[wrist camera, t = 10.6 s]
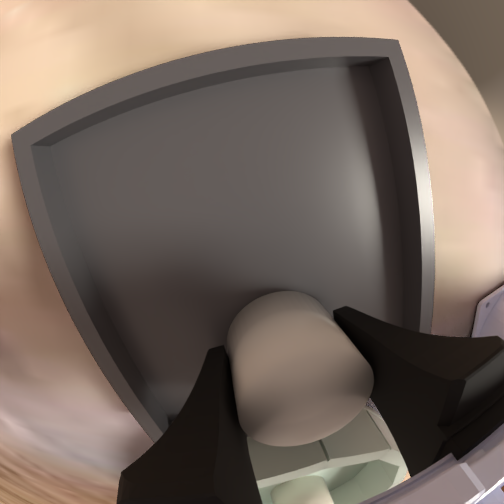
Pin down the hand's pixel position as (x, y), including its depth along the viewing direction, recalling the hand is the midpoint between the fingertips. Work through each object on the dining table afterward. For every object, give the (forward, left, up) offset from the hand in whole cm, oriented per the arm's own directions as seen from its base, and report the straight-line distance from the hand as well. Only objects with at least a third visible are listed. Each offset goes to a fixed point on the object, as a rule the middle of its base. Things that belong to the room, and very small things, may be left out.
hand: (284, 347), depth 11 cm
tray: (0, -3, -2) cm, 4 cm away
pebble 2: (+2, +16, -1) cm, 17 cm away
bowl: (+2, +14, -2) cm, 14 cm away
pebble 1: (0, 0, -1) cm, 1 cm away
